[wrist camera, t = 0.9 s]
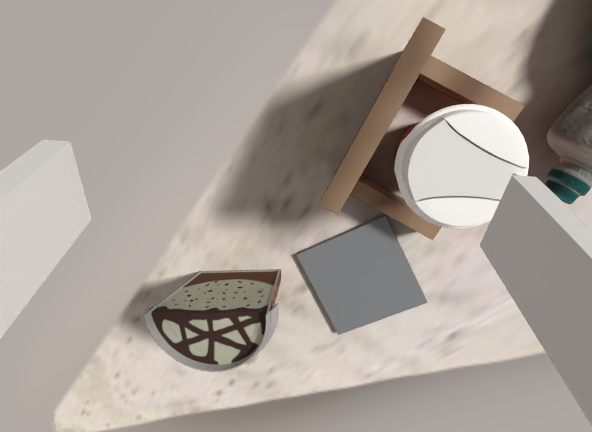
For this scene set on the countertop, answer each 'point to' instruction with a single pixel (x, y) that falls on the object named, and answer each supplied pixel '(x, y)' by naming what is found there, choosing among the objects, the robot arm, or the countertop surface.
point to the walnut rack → (382, 113)
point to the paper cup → (459, 164)
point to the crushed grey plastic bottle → (572, 150)
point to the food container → (217, 318)
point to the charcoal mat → (362, 275)
